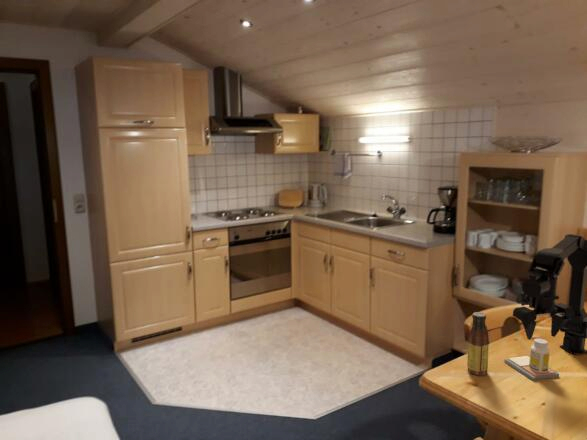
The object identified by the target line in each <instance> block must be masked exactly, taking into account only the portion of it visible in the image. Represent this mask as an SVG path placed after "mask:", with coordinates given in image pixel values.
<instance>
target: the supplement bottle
mask: <svg viewBox="0 0 587 440" xmlns="http://www.w3.org/2000/svg"><path fill="white" fill-rule="evenodd" d="M548 343H549V341H547V340H546V339H544V338H534V339H533V345H531V346H530V350H529V356H530V363H529V367H530V369H531V370H533V371H535V372H539V373H545V372H547V371H548V367H549V362H550V361H549V360H550V351H551V350H550V349H549V347H548V346H549V344H548Z"/></svg>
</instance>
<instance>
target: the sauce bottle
mask: <svg viewBox="0 0 587 440" xmlns="http://www.w3.org/2000/svg"><path fill="white" fill-rule="evenodd" d="M471 318H472V326H471V328H470V330H469V332H468V337H467V359H466V360H467V364H466V365H467V371H468V372H469V373H470V374H471V375H475V376H479V377H480V376H486V375H487V374H488V368H489V332H488V331H487V328H486V319H487V315H486V313H484V312H481V311H479V312H478V311H474V312H473V313H472V317H471Z"/></svg>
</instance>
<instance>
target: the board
mask: <svg viewBox="0 0 587 440" xmlns="http://www.w3.org/2000/svg"><path fill="white" fill-rule="evenodd" d="M503 362H504V363H505V364H506V365H508V366H510V367H512V368H513V369H514V370H516V371H518V372H519V373H520V374H522V375H523V376H525V377H526V378H528V379H529V380H531V381H533V382H535V381H540V380H546V379H551V378H553V379H555V378H558V377H560V373H559V372H557V371H555V370H554V369H553V368H551V367H549V366H548V371H547V372H545V373H539V372H535V371H533V370H531V369H530V367H529V363H530V355H524V356H517V357H510V358H505V359H504V361H503Z"/></svg>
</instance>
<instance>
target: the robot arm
mask: <svg viewBox="0 0 587 440" xmlns="http://www.w3.org/2000/svg"><path fill="white" fill-rule="evenodd" d="M565 259H566V260H567V262H568V263H569V266H570V267H571V273H570V284H569V293H568V294H569V295H568V302H567V303H568V304H564V303H562V302H560V303H558V302H557V303H556V300H559V299H560V296H559V295H557V287H558V277H559V276H560V275H561V272H562V271H563V268H564V266H565ZM528 273H530V274H529V278H526V279H525V280H523V282H522V284H521V290H522V292H523V293H520V292H519V293H516V302H517V304H520V305H521V306H520V307H519V306H518V307H515V308H513V310H512V316H513V317H514V318H516V319H517V320H519V321H520V322H521V323H522V325H523V329H524V331H525V334H526V339H528V340H529V341H531V339H532V338H533V335H534V333H535V329H536V326H537V324H538V323H537V321H536V320H537V317H539V316H548V315H549V316H550V317H551V326H550V327H551V328H550V335H551V336H552V337H553V338H554V337H556V336H557V334H559V332H560V333H564V336H563V339H562V340H563V341H562V344H561V345H559V348H560V349H563V350H564V351H567V352H568V353H570V354H572V355H579V354H586V353H587V349H585V345H586V339H587V311H586V310H585V308H584V306H585V300H586V299H585V297H586V290H587V289H586V288H587V239H586V238H585V237H584V236H582V235H578V234H572V233H569V234H566V235H565V236H564V237H563V239H562V240H560V241H559V242H558V243H556V244H554V246H552V247H550V248H542V249H540V250H538V251H537V252H536V253H535V255H534V256H533V258H532V261H531V264H530V266H529V269H528ZM525 306H528V307H529V308H528V307H525ZM530 308H531V309H530Z"/></svg>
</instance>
